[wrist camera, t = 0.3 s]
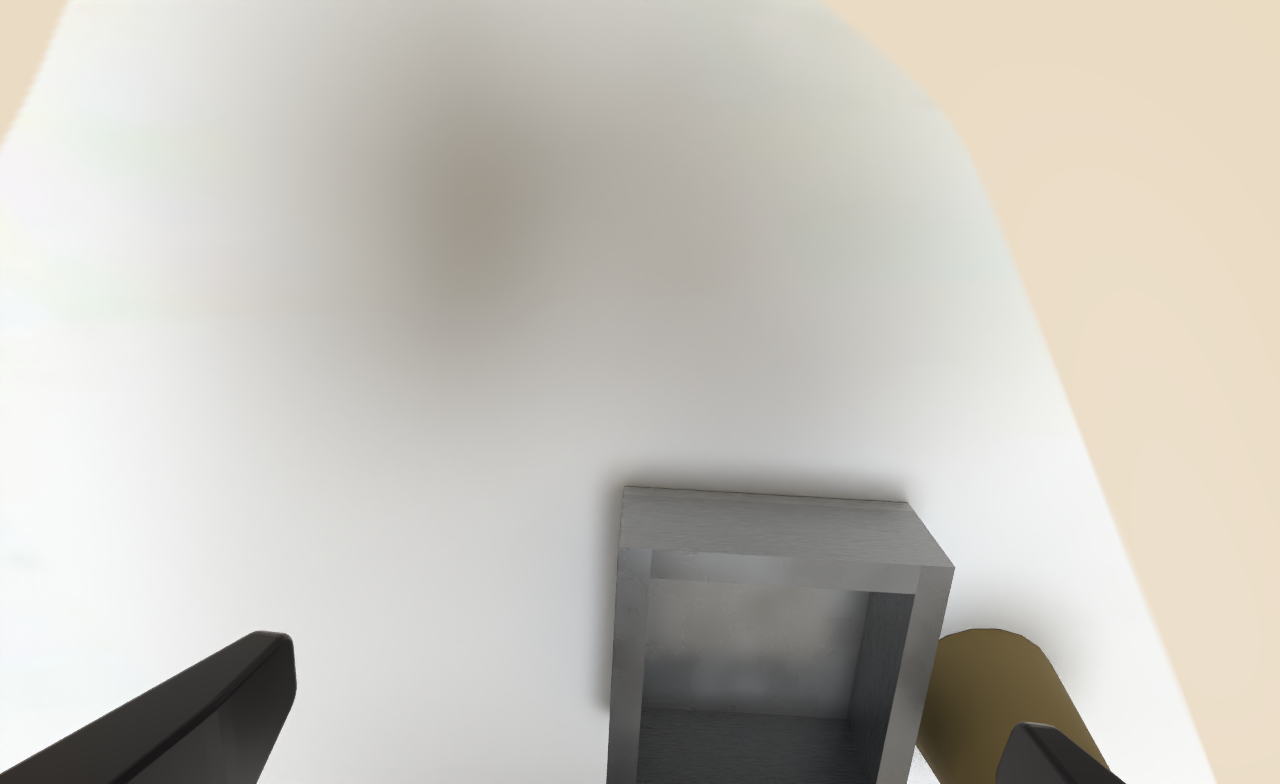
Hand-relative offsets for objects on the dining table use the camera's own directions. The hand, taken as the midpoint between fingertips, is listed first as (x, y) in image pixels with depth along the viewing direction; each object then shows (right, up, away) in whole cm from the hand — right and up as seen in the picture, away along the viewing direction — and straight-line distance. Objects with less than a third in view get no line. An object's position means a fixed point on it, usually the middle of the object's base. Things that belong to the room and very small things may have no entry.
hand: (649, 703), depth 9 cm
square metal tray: (+4, -5, +18) cm, 19 cm away
